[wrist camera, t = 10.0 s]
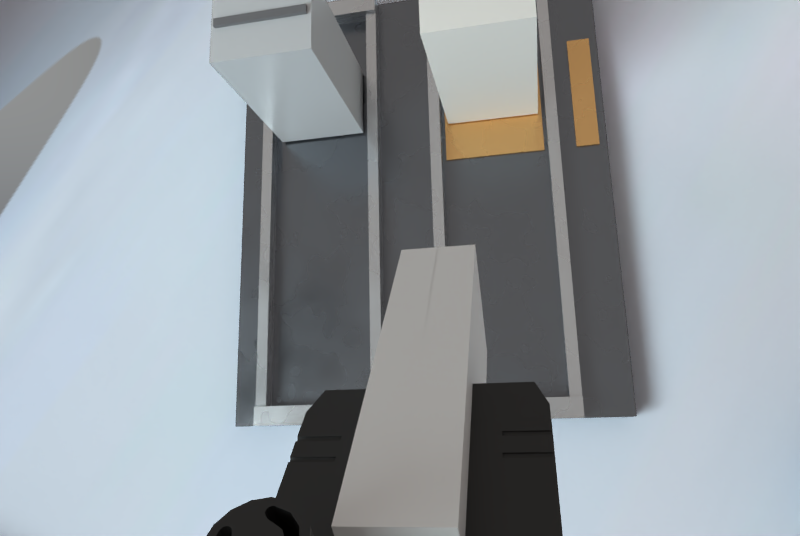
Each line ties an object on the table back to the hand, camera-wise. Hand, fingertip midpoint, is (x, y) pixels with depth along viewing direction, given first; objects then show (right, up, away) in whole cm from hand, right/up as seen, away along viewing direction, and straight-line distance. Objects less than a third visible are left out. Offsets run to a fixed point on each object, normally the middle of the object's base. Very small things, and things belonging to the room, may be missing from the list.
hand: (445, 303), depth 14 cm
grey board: (0, +5, +24) cm, 24 cm away
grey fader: (-6, +10, +25) cm, 28 cm away
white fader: (+4, +11, +23) cm, 26 cm away
